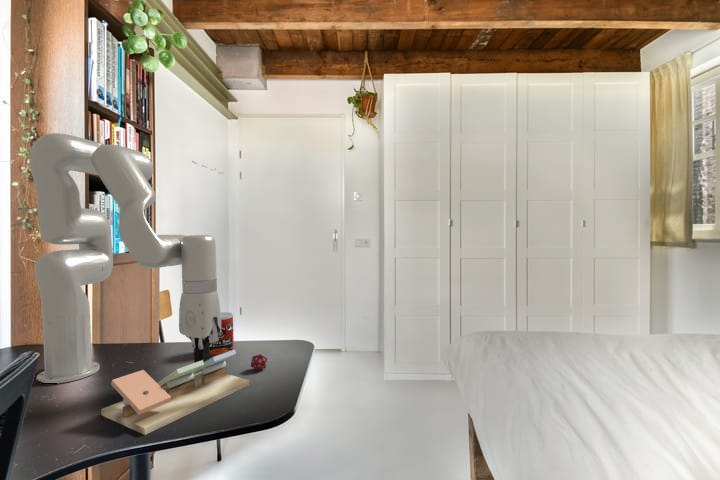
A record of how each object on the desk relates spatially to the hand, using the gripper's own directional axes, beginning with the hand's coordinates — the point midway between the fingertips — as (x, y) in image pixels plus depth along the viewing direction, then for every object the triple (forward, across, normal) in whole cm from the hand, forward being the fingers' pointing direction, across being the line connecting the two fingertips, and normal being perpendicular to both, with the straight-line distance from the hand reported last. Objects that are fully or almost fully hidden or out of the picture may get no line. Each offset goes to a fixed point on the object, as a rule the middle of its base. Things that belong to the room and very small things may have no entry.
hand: (202, 363), depth 90 cm
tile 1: (0, +4, -17) cm, 18 cm away
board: (+4, +4, -9) cm, 10 cm away
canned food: (+4, -14, +16) cm, 22 cm away
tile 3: (0, +4, 0) cm, 4 cm away
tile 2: (0, +4, -9) cm, 10 cm away
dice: (+4, +7, +11) cm, 14 cm away
